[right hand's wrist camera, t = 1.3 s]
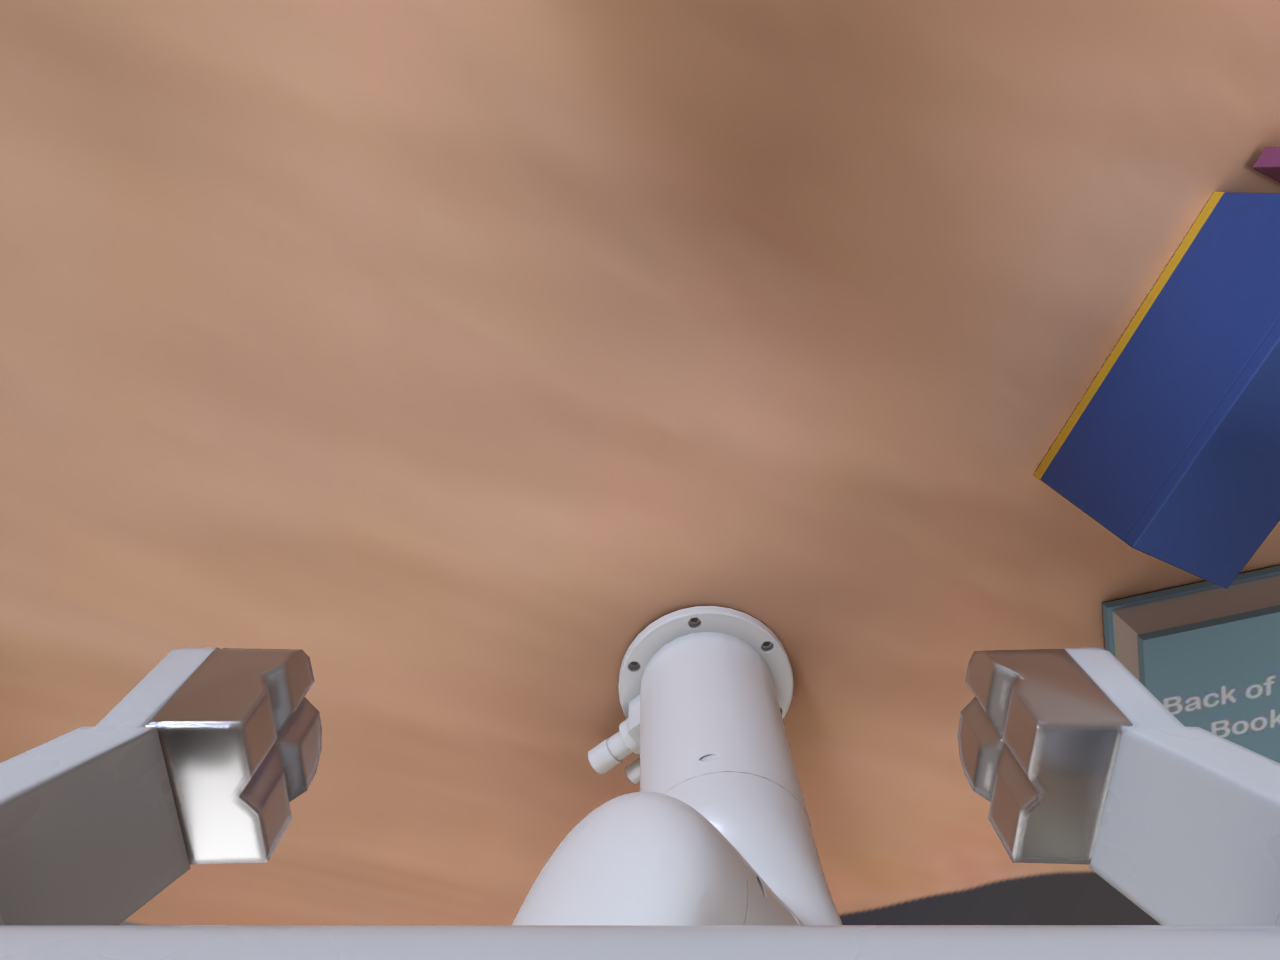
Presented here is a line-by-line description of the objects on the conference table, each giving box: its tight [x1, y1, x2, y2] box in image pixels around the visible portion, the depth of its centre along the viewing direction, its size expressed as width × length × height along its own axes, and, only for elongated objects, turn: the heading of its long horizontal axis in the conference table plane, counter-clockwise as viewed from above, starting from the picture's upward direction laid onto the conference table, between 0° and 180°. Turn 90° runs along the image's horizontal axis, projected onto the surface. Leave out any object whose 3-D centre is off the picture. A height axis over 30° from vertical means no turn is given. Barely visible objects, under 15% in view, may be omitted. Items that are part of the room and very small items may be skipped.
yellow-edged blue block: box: [1034, 192, 1280, 589], centre depth 47 cm, size 20×6×12 cm, turn 156°
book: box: [1102, 565, 1280, 763], centre depth 59 cm, size 23×16×5 cm
